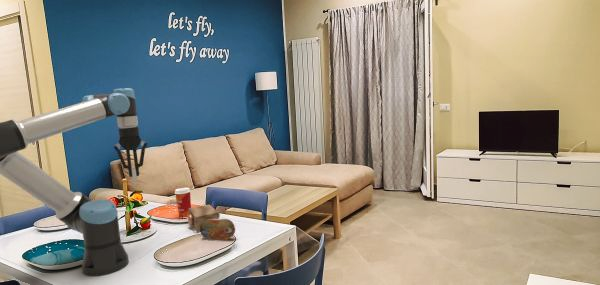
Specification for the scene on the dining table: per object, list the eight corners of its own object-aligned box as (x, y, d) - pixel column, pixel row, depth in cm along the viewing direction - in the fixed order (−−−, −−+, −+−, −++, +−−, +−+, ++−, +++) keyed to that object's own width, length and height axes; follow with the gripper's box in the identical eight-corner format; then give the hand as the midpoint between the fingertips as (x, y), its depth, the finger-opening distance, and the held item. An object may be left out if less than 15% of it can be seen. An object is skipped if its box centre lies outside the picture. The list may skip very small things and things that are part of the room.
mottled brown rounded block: (200, 239, 169) (198, 219, 168) (204, 236, 172) (202, 217, 171) (233, 241, 164) (231, 220, 163) (237, 238, 167) (235, 218, 166)
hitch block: (197, 232, 177) (195, 217, 176) (189, 222, 191) (188, 208, 190) (219, 227, 181) (218, 212, 180) (211, 218, 196) (209, 204, 195)
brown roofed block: (190, 227, 181) (189, 216, 180) (188, 224, 186) (187, 213, 185) (220, 221, 187) (219, 210, 186) (217, 218, 192) (216, 207, 191)
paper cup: (176, 216, 203) (173, 188, 201) (191, 213, 206) (189, 186, 205) (178, 220, 196) (175, 192, 194) (194, 217, 199) (191, 189, 197)
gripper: (144, 124, 171) (151, 180, 174) (110, 128, 166) (117, 185, 169) (146, 125, 164) (153, 183, 168) (110, 129, 159) (118, 188, 162)
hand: (135, 184), depth 168 cm, fingers closed
